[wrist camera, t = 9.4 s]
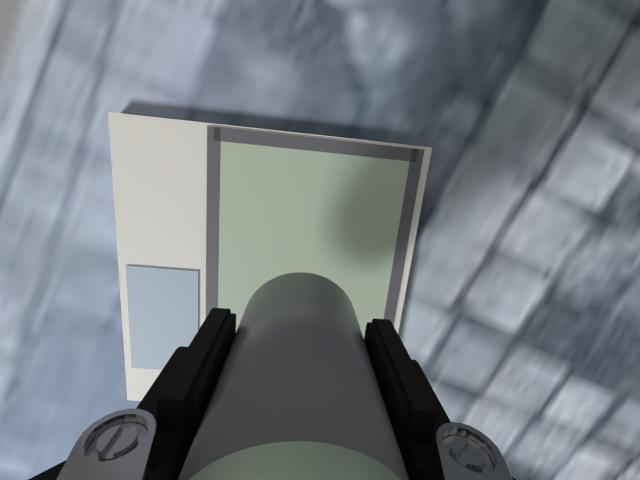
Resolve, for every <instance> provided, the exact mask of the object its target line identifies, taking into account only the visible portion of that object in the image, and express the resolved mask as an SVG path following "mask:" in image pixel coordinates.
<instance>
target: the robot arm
mask: <svg viewBox="0 0 640 480" xmlns="http://www.w3.org/2000/svg"><path fill="white" fill-rule="evenodd" d="M235 334H236V313H231V310H230V309H226V308H212V309H211V311H210V312H209V314H208V316H207V317H206V319H205V321H204V322H203V324H202V325H201V327H200V329H199V330H198V332H197V334H196V335H195V337H194V338H193V340H192V342H191V343H190V345H189V347H184V346H180V347H178V348H177V349H176V350H175V352H174V353H173V355H172V356H171V357H170V359H169V360H168V362H167V363H166V365H165V366H164V368H163V369H162V371H161V372H160V374H159V375H158V377H157V378H156V380H155V381H154V383H153V384H152V386H151V387H150V389H149V390H148V392H147V393H146V395H145V396H144V398H143V399H142V401H141V402H140V404H139V405H138V407H137V408H136V409H125V410H120V411H116V412H114V413H111V414H109V415H106V416H104V417H102V418H101V419H99V420H98V421H96V422H94V423H93V424H92V425H91V426H90V427H88V428H87V429H86V430H85V431H84V432H83V433H82V435H81V436H80V437H79V439H78V440H77V442H76V444H75V446H74V447H73V449H72V451H71V453H70V455H69V457H68V459H67V460H66V461H64V462H62V463H60V464H58V465H56V466H54V467H52V468H50V469H48V470H46V471H44V472H42V473H40V474H39V475H37V476H35V477H33V478H31V479H29V480H178V478H179V476H180V473H181V471H182V468H183V466H184V463H185V461H186V458H187V455H188V453H189V450H190V448H191V445H192V443H193V440H194V438H195V435H196V433H197V430H198V428H199V425H200V423H201V420H202V418H203V415H204V412H205V410H206V407H207V405H208V402H209V400H210V397H211V395H212V392H213V390H214V387H215V385H216V382H217V379H218V377H219V374H220V372H221V369H222V367H223V364H224V362H225V359H226V357H227V354H228V352H229V349H230V346H231V344H232V341H233V339H234V336H235ZM364 341H365V344H366V348H367V351H368V354H369V357H370V360H371V363H372V366H373V369H374V372H375V375H376V378H377V381H378V385H379V388H380V391H381V394H382V397H383V400H384V403H385V406H386V409H387V412H388V415H389V419H390V422H391V425H392V428H393V431H394V434H395V437H396V440H397V443H398V446H399V449H400V452H401V456H402V459H403V462H404V465H405V468H406V471H407V474H408V477H409V480H516V479H514V478H513V477H512V476H511V474H510V472H509V469H508V467H507V465H506V463H505V460H504V458H503V456H502V454H501V452H500V451H499V449H498V447H497V446H496V445H495V444H494V443H493V442H492V441H491V440H490V439H489V438H488V437H487V436H486V435H484V434H483V433H482V432H480V431H479V430H477V429H475V428H473V427H471V426H469V425H465V424H462V423H456V422H450V420H449V418H448V416H447V414H446V413H445V411H444V409H443V407H442V405H441V404H440V402H439V400H438V398H437V396H436V394H435V393H434V391H433V389H432V387H431V385H430V384H429V382H428V380H427V378H426V376H425V374H424V373H423V371H422V369H421V367H420V365H419V364H418V362H417V361H416V360H411V358H410V356H409V355H408V353H407V351H406V349H405V347H404V345H403V343H402V341H401V339H400V337H399V335H398V334H397V332H396V330H395V328H394V326H393V324H392V322H391V320H389V319H375V318H374V319H373V320H372V322H367V324H366V330H365V336H364Z"/></svg>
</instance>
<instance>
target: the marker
mask: <svg viewBox="0 0 640 480" xmlns="http://www.w3.org/2000/svg"><path fill="white" fill-rule="evenodd" d="M178 480H409V477H408V474H407V471H406V468H405V465H404V462H403V459H402V456H401V452H400V449H399V446H398V443H397V440H396V437H395V434H394V431H393V428H392V425H391V422H390V419H389V415H388V412H387V409H386V406H385V403H384V400H383V397H382V394H381V391H380V388H379V385H378V381H377V378H376V375H375V372H374V369H373V366H372V363H371V360H370V357H369V354H368V351H367V348H366V344H365V341H364V338H363V335H362V332H361V329H360V326H359V323H358V320H357V317H356V314H355V310H354V308H353V305H352V303H351V301H350V299H349V297H348V296H347V294H346V293H345V292H344V291H343V290H342V289H341V288H340V287H339V286H338V285H337V284H335V283H334V282H333V281H331V280H329V279H327V278H325V277H323V276H320V275H316V274H313V273H306V272H295V273H288V274H284V275H280V276H278V277H275V278H273V279H271V280H269V281H267V282H266V283H265V284H263V285H262V286H261V287H260V288H259V289H257V290H256V292H255V293H254V294H253V295H252V297H251V298H250V300H249V302H248V304H247V306H246V308H245V311H244V313H243V316H242V319H241V321H240V324H239V326H238V329H237V331H236V334H235V336H234V339H233V341H232V344H231V346H230V349H229V352H228V354H227V357H226V359H225V362H224V364H223V367H222V369H221V372H220V374H219V377H218V379H217V382H216V385H215V387H214V390H213V392H212V395H211V397H210V400H209V402H208V405H207V407H206V410H205V412H204V415H203V418H202V420H201V423H200V425H199V428H198V430H197V433H196V435H195V438H194V440H193V443H192V445H191V448H190V450H189V453H188V455H187V458H186V461H185V463H184V466H183V468H182V471H181V473H180V476H179V478H178Z"/></svg>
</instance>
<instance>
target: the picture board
mask: <svg viewBox="0 0 640 480" xmlns="http://www.w3.org/2000/svg"><path fill="white" fill-rule="evenodd" d="M108 117H109V131H110V146H111V161H112V176H113V191H114V206H115V221H116V236H117V251H118V266H119V281H120V296H121V310H122V325H123V340H124V355H125V370H126V385H127V400H135V401H142V399H143V398H144V396H145V395H146V393H147V392H148V390H149V389H150V387H151V386H152V384H153V383H154V381H155V380H156V378H157V377H158V375H159V374H160V372H161V371H162V369H163V368H164V366H165V365H166V363H167V362H168V360H169V359H170V357H171V356H172V355H173V353H174V352H175V350H176V349H177V348H178V347H180V346H184V347H189V345H190V343H191V342H192V340H193V338H194V337H195V335H196V334H197V332H198V330H199V329H200V327H201V325H202V324H203V322H204V321H205V319H206V317H207V316H208V314H209V312H210V311H211V309H212V308H226V309H230V310H231V313H236V331H237V329H238V326H239V324H240V321H241V319H242V316H243V313H244V311H245V308H246V306H247V304H248V302H249V300H250V298H251V297H252V295H253V294H254V293H255V292H256V290H257V289H259V288H260V287H261V286H262V285H263V284H265V283H266V282H267V281H269V280H271V279H273V278H275V277H278V276H280V275H284V274H288V273H295V272H306V273H313V274H316V275H320V276H323V277H325V278H327V279H329V280H331V281H333V282H334V283H335V284H337V285H338V286H339V287H340V288H341V289H342V290H343V291H344V292H345V293H346V294H347V296H348V297H349V299H350V301H351V303H352V305H353V308H354V310H355V314H356V317H357V320H358V323H359V326H360V329H361V332H362V335H363V338H364V336H365V330H366V324H367V322H372V320H373V319H374V318H375V319H389V320H391V322H392V324H393V326H394V328H395V330H396V332H397V334H398V331H399V326H400V321H401V315H402V310H403V304H404V299H405V293H406V288H407V282H408V277H409V271H410V266H411V261H412V255H413V250H414V244H415V239H416V233H417V228H418V222H419V217H420V211H421V206H422V201H423V195H424V190H425V184H426V179H427V173H428V168H429V162H430V157H431V151H432V147H424V146H415V145H406V144H396V143H387V142H378V141H369V140H360V139H351V138H342V137H332V136H323V135H314V134H305V133H296V132H287V131H278V130H268V129H259V128H250V127H241V126H232V125H223V124H214V123H204V122H195V121H186V120H177V119H168V118H159V117H149V116H140V115H131V114H122V113H113V112H108Z"/></svg>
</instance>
